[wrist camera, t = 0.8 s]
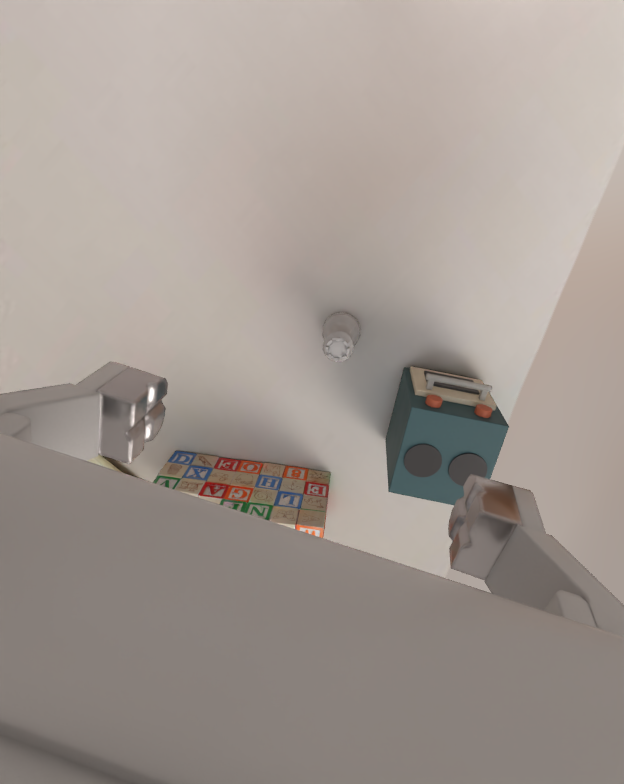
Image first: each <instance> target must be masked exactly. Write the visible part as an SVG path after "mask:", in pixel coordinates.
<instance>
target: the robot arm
mask: <svg viewBox="0 0 624 784" xmlns="http://www.w3.org/2000/svg"><path fill="white" fill-rule="evenodd" d="M167 386H168V382H167V380H166V378H163V377H160V376H157V375H154V374H151V373H148V372H145V371H142V370H139V369H136V368H133V367H130V366H127V365H123V364H120V363H117V362H109V363H107V364H106V365H104V366H103V367H101V368H100V369H98V370H97V371H95V372H94V373H92V374H91V375H89V376H88V377H87V378H85V379H84V380H82V381H81V382H79V383H78V384H76V385H74V384H70V383H69V384H62V385H56V386H49V387H43V388H36V389H30V390H23V391H17V392H10V393H4V394H0V784H624V605H623V604H622V603H621V602H620V601H619V600H618V599H617V598H616V597H615V596H614V595H613V594H612V593H611V592H609V590H608V589H607V588H606V587H604V585H603V584H601V583H600V582H599V581H598V580H597V579H596V578H595V577H594V576H593V575H592V574H591V573H590V572H589V571H588V570H587V569H586V568H585V567H584V566H583V565H582V564H581V563H580V562H579V561H578V560H577V559H576V558H575V557H574V556H572V555H571V553H569V552H568V551H567V550H566V549H565V548H564V547H563V546H562V545H561V544H560V543H559V542H558V541H557V540H556V539H555V538H554V537H553V536H552V535H549V534H546V532H545V529H544V526H543V523H542V520H541V517H540V513H539V510H538V507H537V504H536V501H535V498H534V495H533V493H532V492H531V491H530V490H527V489H523V488H519V487H516V486H512V485H508V484H504V483H501V482H498V481H494V480H490V479H487V478H484V477H480V476H477V475H473V474H470V476H469V477H468V478H467V480H466V482H465V484H464V486H463V490H464V496H463V497H461V498H460V499H458V500H456V503H455V505H454V507H453V509H452V512H451V516H450V520H449V528H448V530H449V537H450V538H451V539H452V540H453V542H452V544H451V546H450V548H449V549H450V563H451V569H454V570H457V571H460V572H463V573H466V574H469V575H471V576H474V577H477V578H480V579H482V580H485V583H486V585H487V586H488V588H489V590H490V591H491V593H489V592H486V591H483V590H479V589H477V588H474V587H471V586H467V585H464V584H461V583H458V582H455V581H452V580H449V579H446V578H443V577H440V576H437V575H434V574H431V573H428V572H425V571H422V570H419V569H415V568H412V567H409V566H406V565H403V564H400V563H397V562H394V561H391V560H388V559H385V558H382V557H379V556H376V555H373V554H370V553H367V552H363V551H360V550H357V549H354V548H351V547H348V546H345V545H342V544H339V543H336V542H333V541H330V540H327V539H324V538H321V537H318V536H315V535H311V534H308V533H305V532H302V531H299V530H296V529H293V528H290V527H287V526H284V525H281V524H278V523H275V522H272V521H269V520H266V519H263V518H259V517H256V516H253V515H250V514H247V513H244V512H241V511H238V510H235V509H232V508H229V507H226V506H223V505H220V504H217V503H214V502H211V501H208V500H204V499H201V498H198V497H195V496H192V495H189V494H186V493H183V492H180V491H177V490H174V489H171V488H168V487H165V486H162V485H159V484H156V483H152V482H149V481H146V480H143V479H140V478H137V477H134V476H131V475H128V474H125V473H122V472H119V471H116V470H113V469H110V468H107V467H104V466H101V465H97V464H94V463H91V462H88V461H87V460H90V459H92V458H95V457H97V456H98V455H102V456H105V457H108V458H112V459H115V460H119V461H122V462H125V463H129V464H131V462H132V461H133V460H134V459H135V458H136V457H137V456H138V455H139V454H140V453H141V452H142V451H143V449H144V443H145V442H148V441H152V440H153V439H154V438H155V436H156V435H157V434H158V432H159V430H160V428H161V426H162V424H163V420H164V416H165V406H164V405H163V403H162V401H161V399H162V398H163V397H164V396H165V395H166V394H167Z"/></svg>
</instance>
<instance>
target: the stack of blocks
mask: <svg viewBox="0 0 624 784" xmlns="http://www.w3.org/2000/svg"><path fill="white" fill-rule="evenodd" d="M330 475H331V473H330V472H324V471H317V470H309V469H307V468H300V467H293V466H285V465H279V464H272V463H260V462H252V461H244V460H242V461H241V460H235V459H227V458H219V457H218V456H210V455H203V454H195V453H189V452H181V451H175V453H174V454H173V455H172V456H171V458H170V459H169V460H168V462H167V463H166V464H165V465H164V467H163V468H162V469H161V471H160V472H159V474H158V476H157V477H156V479H155V480H154V481H153V483H156V484H159V485H162V486H165V487H168V488H171V489H174V490H177V491H180V492H183V493H186V494H189V495H192V496H195V497H198V498H201V499H204V500H208V501H211V502H214V503H217V504H220V505H223V506H226V507H229V508H232V509H235V510H238V511H241V512H244V513H247V514H250V515H253V516H256V517H259V518H263V519H266V520H269V521H272V522H275V523H278V524H281V525H284V526H287V527H290V528H293V529H296V530H299V531H302V532H305V533H308V534H311V535H315V536H318V537H321V538H323V536H324V529H325V519H326V510H327V500H328V491H329V482H330Z"/></svg>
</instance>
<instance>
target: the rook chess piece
mask: <svg viewBox="0 0 624 784" xmlns="http://www.w3.org/2000/svg"><path fill="white" fill-rule="evenodd" d="M359 337H360V326H359V323H358V321H357V320H356V319H355V318H354V317H353V316H352V315H349V314H347V313H336V314H333V315H331V316H330V317H329V318H328V319H326V321H325V323H324V325H323V338H324V342H323V351H324V354H325V355H326V357H327V358H328V359H330V360H332V361H334V362H342V361H345V360H347V359H348V358H349V357H350V356H351V354H352V352H353V346H354V345H355V344H356V343H357V341H358V339H359Z"/></svg>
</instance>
